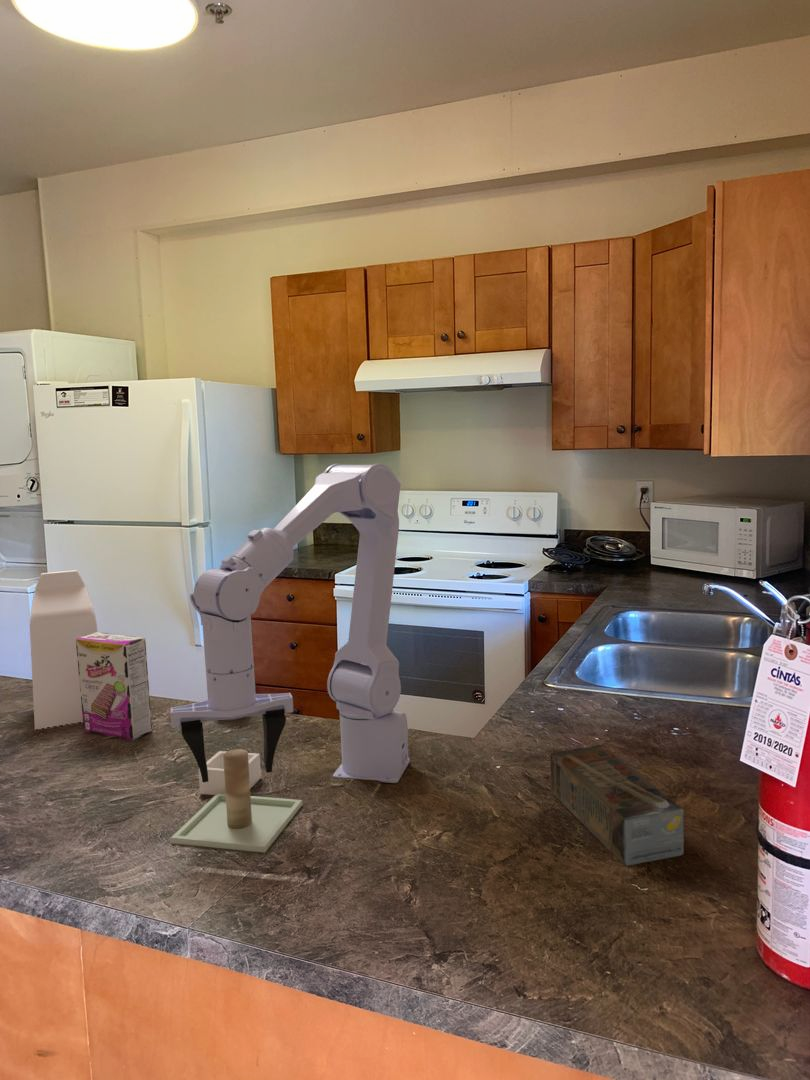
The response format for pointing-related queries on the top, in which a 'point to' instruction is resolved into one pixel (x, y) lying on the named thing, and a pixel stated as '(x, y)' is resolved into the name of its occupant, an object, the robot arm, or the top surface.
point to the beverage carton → (617, 805)
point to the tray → (257, 837)
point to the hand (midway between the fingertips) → (237, 774)
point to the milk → (58, 646)
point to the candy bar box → (114, 685)
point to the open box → (217, 773)
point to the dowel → (237, 788)
